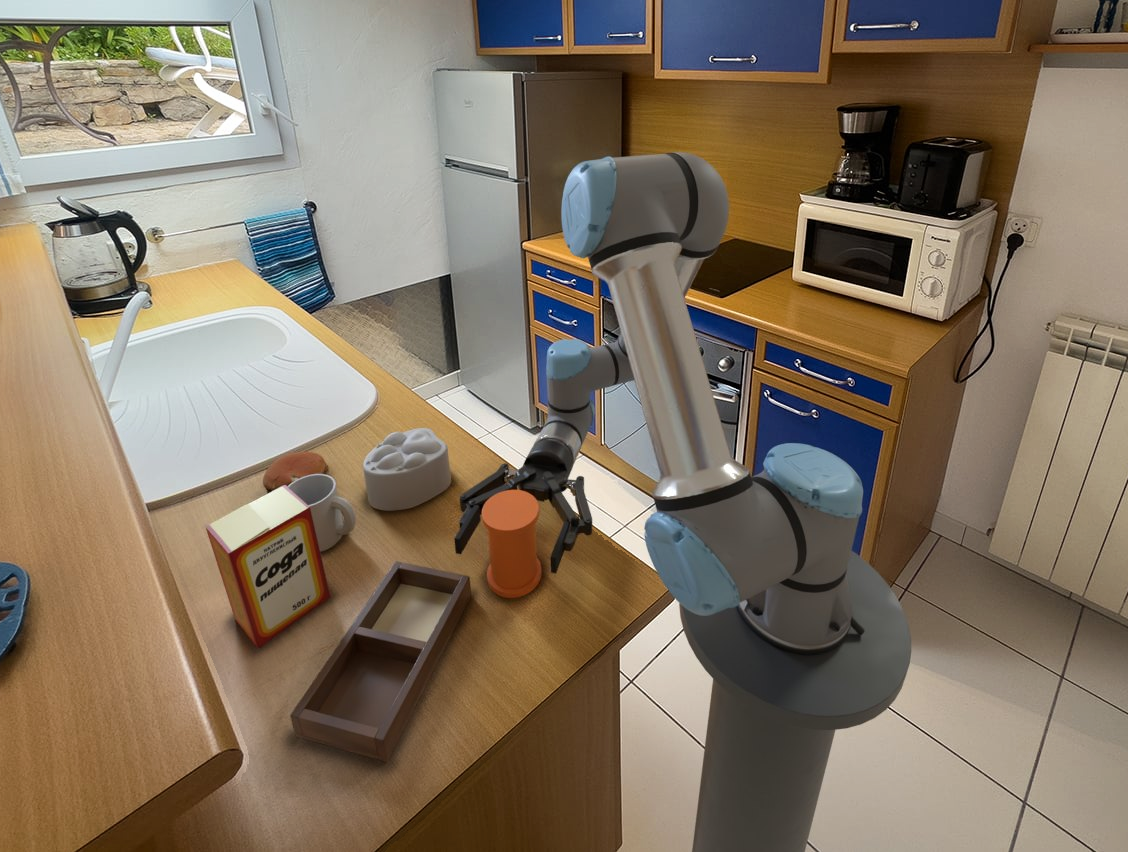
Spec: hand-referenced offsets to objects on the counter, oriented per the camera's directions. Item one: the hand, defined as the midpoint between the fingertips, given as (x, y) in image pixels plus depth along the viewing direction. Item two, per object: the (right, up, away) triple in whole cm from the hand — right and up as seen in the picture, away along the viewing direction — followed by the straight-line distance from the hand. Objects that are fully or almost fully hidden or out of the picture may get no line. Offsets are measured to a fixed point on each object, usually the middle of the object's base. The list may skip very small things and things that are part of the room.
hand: (504, 556), depth 80 cm
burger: (-38, +2, +21) cm, 44 cm away
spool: (+1, -5, +5) cm, 7 cm away
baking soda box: (-29, -7, 0) cm, 30 cm away
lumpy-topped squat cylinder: (-20, +2, +21) cm, 29 cm away
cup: (-29, -2, +11) cm, 31 cm away
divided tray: (-12, -10, -7) cm, 17 cm away
